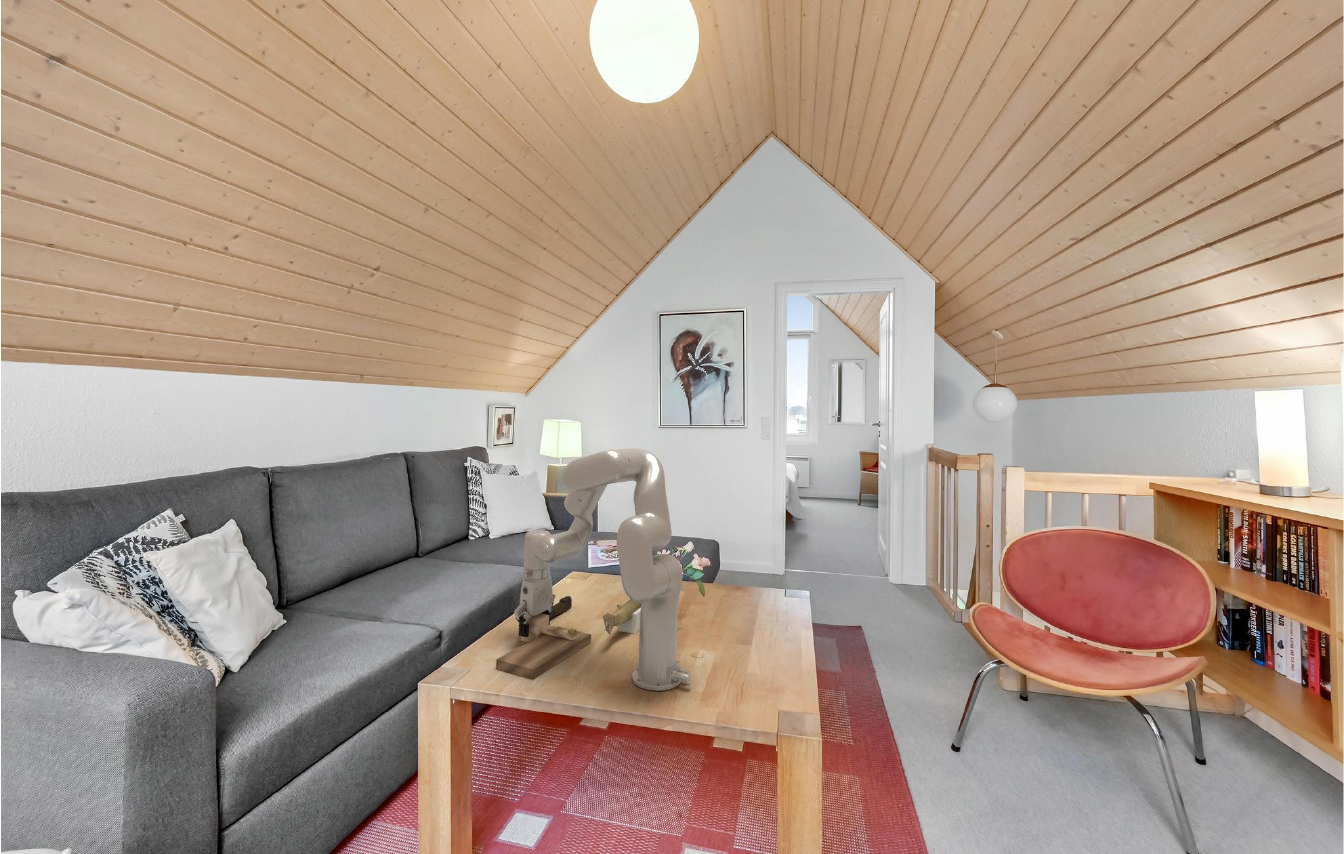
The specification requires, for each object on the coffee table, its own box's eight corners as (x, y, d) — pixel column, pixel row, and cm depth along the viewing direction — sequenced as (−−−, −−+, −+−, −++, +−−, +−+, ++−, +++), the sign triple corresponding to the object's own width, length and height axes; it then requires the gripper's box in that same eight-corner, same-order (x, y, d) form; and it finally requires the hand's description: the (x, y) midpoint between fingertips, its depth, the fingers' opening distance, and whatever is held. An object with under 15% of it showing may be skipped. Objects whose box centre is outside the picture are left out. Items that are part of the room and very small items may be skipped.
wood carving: (588, 650, 155) (589, 611, 155) (636, 611, 188) (637, 578, 188) (617, 655, 152) (618, 615, 152) (660, 615, 185) (661, 582, 185)
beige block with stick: (579, 646, 158) (580, 621, 158) (569, 652, 153) (569, 627, 153) (532, 634, 165) (532, 611, 165) (520, 640, 160) (521, 616, 160)
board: (590, 642, 160) (591, 634, 160) (533, 679, 137) (533, 669, 137) (557, 634, 165) (557, 626, 165) (496, 668, 142) (496, 659, 142)
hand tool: (543, 626, 172) (544, 612, 172) (533, 624, 174) (533, 609, 174) (577, 609, 189) (578, 595, 189) (568, 607, 191) (568, 593, 191)
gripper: (527, 582, 152) (525, 643, 152) (564, 568, 168) (562, 623, 168) (506, 578, 155) (504, 638, 155) (544, 564, 171) (542, 618, 171)
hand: (534, 630), depth 162 cm, fingers open, 9 cm apart
